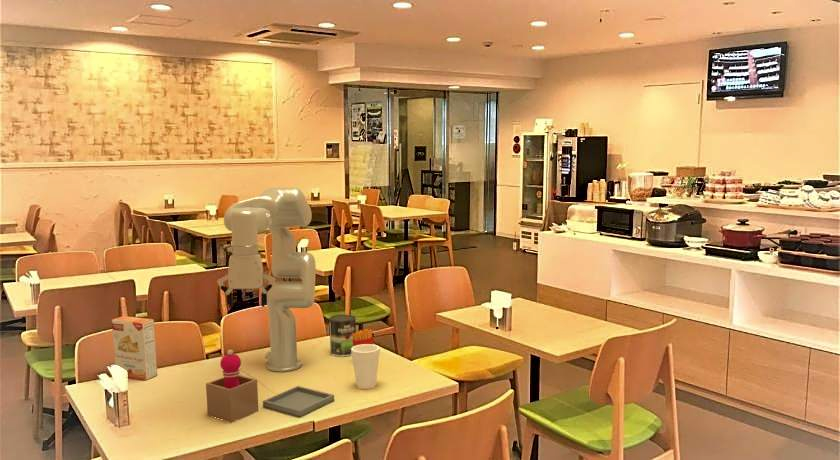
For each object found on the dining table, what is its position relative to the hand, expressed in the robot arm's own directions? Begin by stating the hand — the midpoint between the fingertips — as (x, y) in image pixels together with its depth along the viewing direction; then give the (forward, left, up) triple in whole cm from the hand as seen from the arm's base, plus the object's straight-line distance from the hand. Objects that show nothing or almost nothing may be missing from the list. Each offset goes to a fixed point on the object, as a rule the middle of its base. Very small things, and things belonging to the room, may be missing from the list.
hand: (247, 306), depth 208 cm
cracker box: (-57, -2, -32) cm, 66 cm away
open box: (-1, -6, -32) cm, 33 cm away
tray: (+11, +10, -32) cm, 35 cm away
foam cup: (+19, +34, -32) cm, 50 cm away
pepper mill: (-1, -6, -32) cm, 33 cm away
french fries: (+2, +54, -32) cm, 63 cm away
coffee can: (-11, +58, -32) cm, 67 cm away
